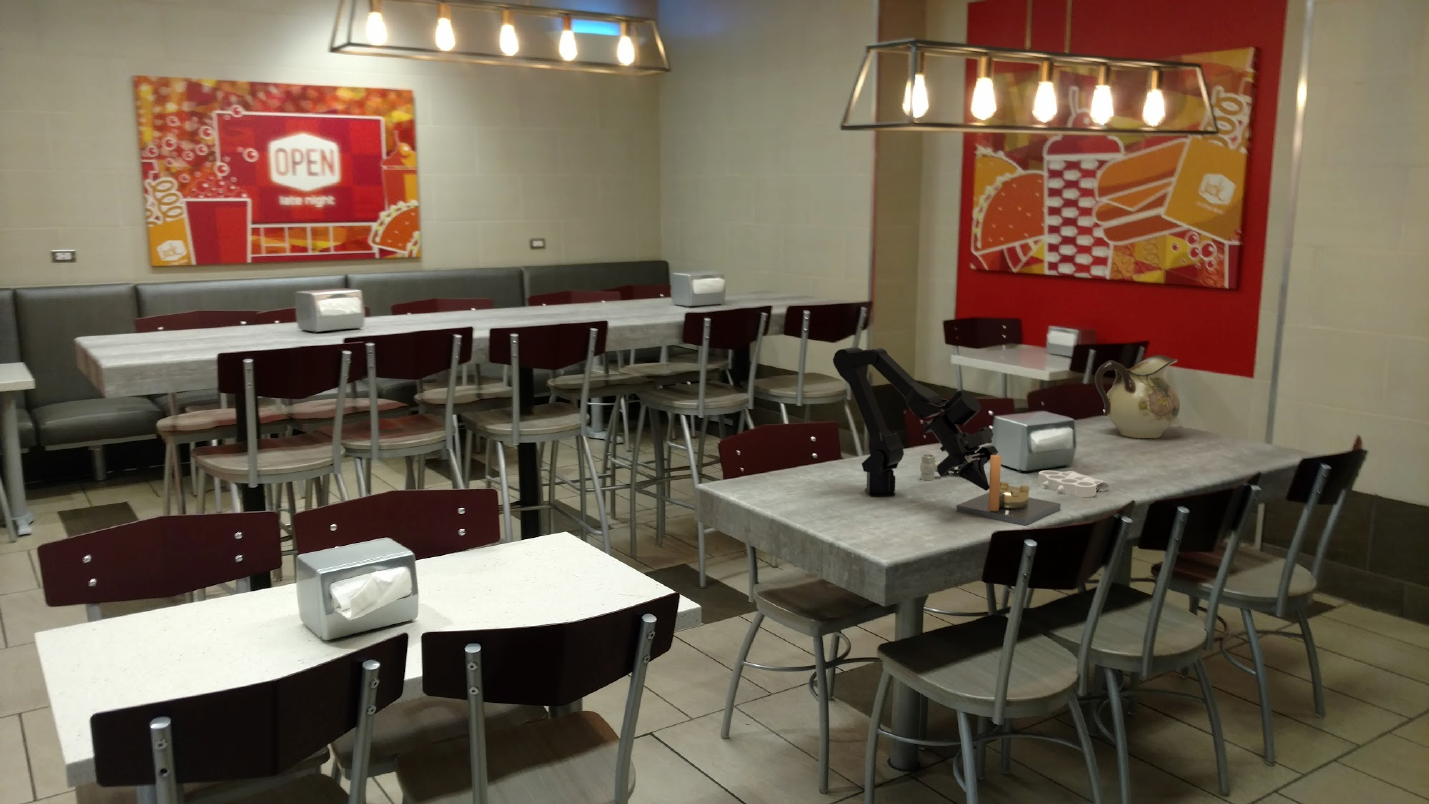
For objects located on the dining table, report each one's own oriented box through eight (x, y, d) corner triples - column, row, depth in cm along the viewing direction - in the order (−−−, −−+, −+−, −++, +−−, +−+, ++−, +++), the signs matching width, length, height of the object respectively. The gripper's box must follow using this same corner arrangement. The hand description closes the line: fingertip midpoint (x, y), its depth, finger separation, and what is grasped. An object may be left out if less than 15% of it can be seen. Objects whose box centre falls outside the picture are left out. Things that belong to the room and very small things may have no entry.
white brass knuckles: (1117, 495, 279) (1074, 501, 273) (1067, 479, 295) (1025, 485, 289) (1118, 482, 278) (1074, 488, 272) (1068, 467, 294) (1026, 472, 288)
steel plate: (956, 511, 263) (956, 504, 263) (993, 496, 276) (993, 489, 276) (1025, 525, 251) (1025, 518, 251) (1060, 509, 264) (1060, 502, 264)
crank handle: (1000, 496, 270) (1002, 444, 267) (1034, 502, 264) (1037, 449, 262) (973, 507, 260) (976, 454, 257) (1008, 514, 254) (1011, 459, 251)
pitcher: (1189, 434, 348) (1193, 356, 344) (1159, 446, 331) (1164, 365, 327) (1120, 425, 363) (1124, 351, 359) (1089, 436, 347) (1092, 359, 342)
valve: (928, 483, 290) (964, 477, 295) (929, 459, 289) (965, 454, 294) (913, 477, 296) (948, 472, 301) (914, 454, 295) (949, 449, 300)
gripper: (950, 421, 252) (989, 476, 246) (993, 412, 265) (1031, 464, 259) (920, 449, 258) (957, 503, 253) (963, 439, 271) (1000, 490, 265)
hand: (988, 489), depth 257 cm, fingers closed, pressing on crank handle
